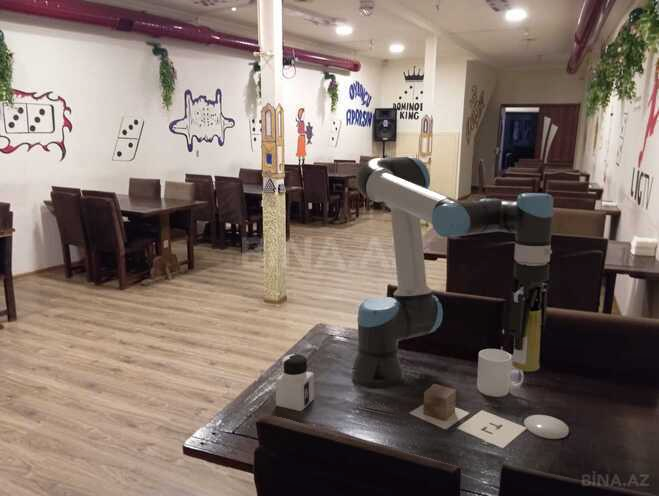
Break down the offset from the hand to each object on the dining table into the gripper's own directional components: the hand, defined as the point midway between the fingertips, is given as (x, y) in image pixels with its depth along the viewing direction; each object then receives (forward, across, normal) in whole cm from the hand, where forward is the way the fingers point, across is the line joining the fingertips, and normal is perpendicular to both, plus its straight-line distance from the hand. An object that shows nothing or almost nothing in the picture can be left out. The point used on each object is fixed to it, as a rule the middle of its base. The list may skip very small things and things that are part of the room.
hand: (526, 358), depth 121 cm
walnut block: (+18, -8, +18) cm, 27 cm away
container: (+18, -31, +48) cm, 60 cm away
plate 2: (+18, -5, +5) cm, 20 cm away
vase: (+2, 0, 0) cm, 2 cm away
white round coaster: (+18, +5, -3) cm, 20 cm away
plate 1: (+18, -8, +18) cm, 27 cm away
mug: (+18, +14, +14) cm, 27 cm away
